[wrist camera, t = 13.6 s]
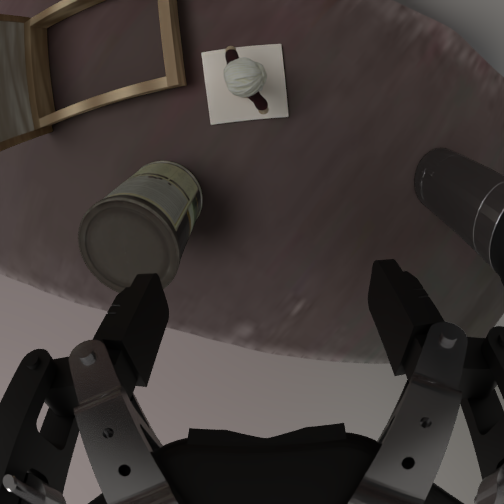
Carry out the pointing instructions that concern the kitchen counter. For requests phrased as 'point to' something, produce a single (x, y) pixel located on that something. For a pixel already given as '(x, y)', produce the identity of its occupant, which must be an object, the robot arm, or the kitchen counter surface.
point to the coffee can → (141, 226)
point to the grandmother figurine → (245, 78)
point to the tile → (239, 108)
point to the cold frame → (38, 72)
